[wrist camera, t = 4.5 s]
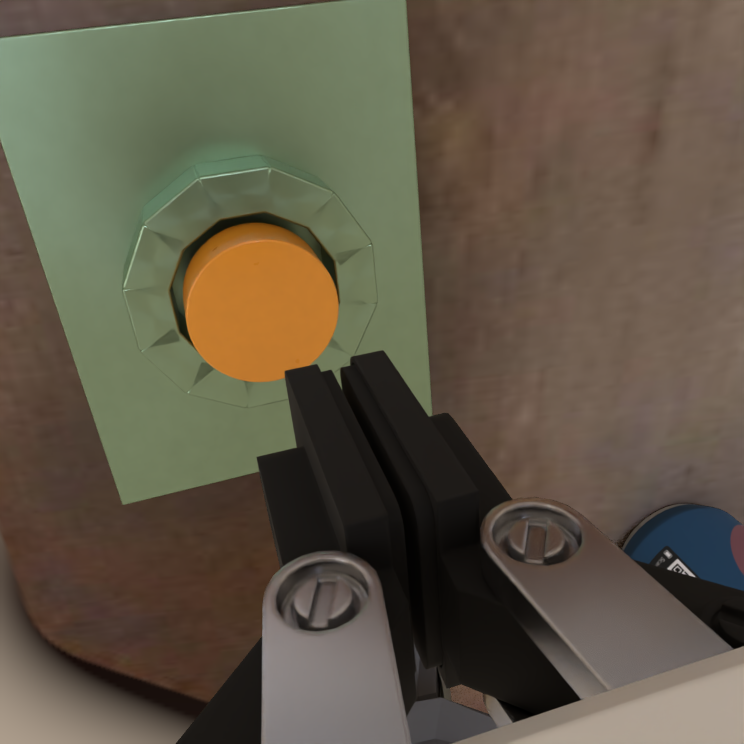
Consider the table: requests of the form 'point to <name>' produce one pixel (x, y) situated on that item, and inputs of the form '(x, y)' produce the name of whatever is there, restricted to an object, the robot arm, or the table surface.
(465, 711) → the wizard figurine
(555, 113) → the table surface
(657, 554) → the soda can
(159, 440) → the green rectangular block
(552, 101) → the table surface
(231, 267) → the button
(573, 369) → the table surface
